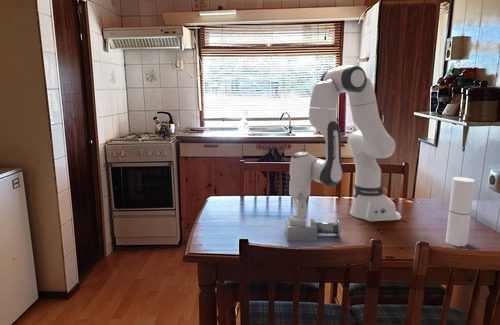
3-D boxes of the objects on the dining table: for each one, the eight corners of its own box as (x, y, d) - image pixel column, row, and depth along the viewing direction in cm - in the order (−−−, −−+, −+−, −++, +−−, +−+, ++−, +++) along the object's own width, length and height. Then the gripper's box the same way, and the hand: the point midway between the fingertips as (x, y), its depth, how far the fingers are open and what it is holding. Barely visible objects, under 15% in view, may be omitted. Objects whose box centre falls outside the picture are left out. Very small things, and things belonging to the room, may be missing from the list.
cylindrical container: (447, 244, 138) (454, 180, 133) (444, 237, 145) (451, 176, 140) (468, 247, 136) (476, 182, 131) (465, 240, 142) (472, 178, 137)
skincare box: (303, 232, 150) (304, 215, 149) (305, 238, 144) (306, 220, 143) (288, 232, 150) (289, 215, 149) (290, 238, 144) (290, 220, 143)
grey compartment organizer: (336, 231, 151) (337, 216, 150) (341, 241, 141) (342, 225, 140) (285, 230, 152) (285, 216, 150) (287, 240, 142) (287, 225, 140)
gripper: (310, 197, 144) (309, 230, 146) (304, 184, 164) (303, 213, 166) (294, 197, 144) (293, 230, 146) (290, 184, 164) (289, 213, 167)
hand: (298, 221), depth 157 cm, fingers closed
